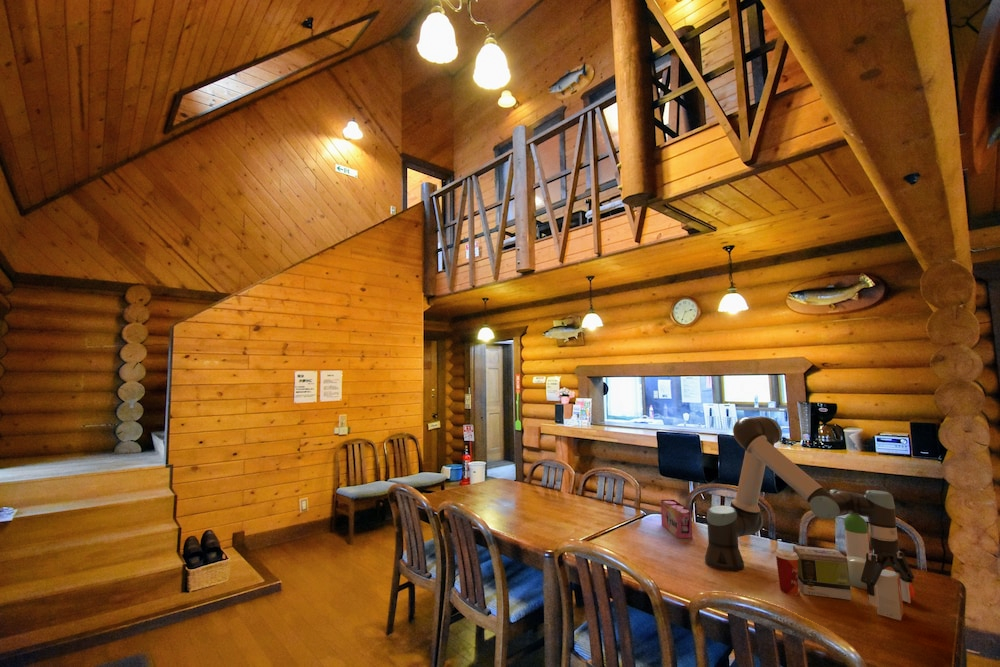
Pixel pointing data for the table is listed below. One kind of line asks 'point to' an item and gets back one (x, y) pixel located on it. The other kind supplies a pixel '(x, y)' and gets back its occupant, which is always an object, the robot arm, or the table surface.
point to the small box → (890, 595)
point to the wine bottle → (856, 536)
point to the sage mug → (856, 571)
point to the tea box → (823, 572)
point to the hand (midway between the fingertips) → (890, 603)
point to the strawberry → (911, 591)
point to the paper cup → (787, 571)
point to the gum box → (676, 518)
